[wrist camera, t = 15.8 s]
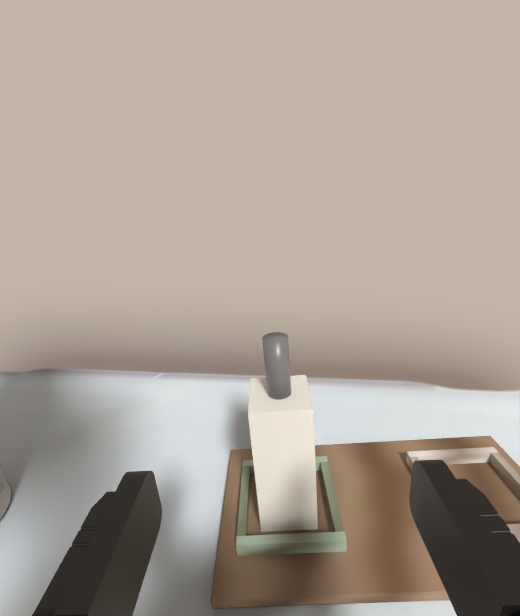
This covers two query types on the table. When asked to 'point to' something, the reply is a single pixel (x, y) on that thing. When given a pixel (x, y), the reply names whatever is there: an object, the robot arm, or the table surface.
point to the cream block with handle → (283, 442)
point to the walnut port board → (351, 526)
